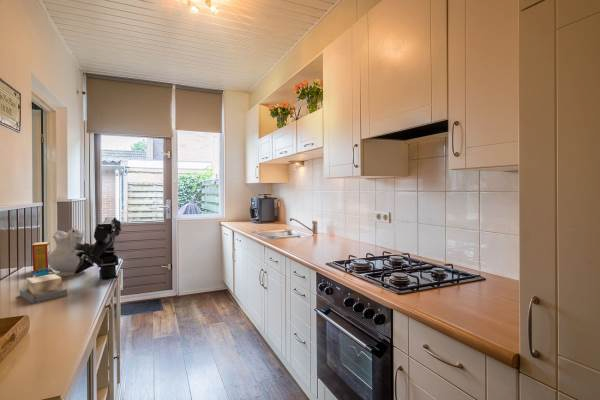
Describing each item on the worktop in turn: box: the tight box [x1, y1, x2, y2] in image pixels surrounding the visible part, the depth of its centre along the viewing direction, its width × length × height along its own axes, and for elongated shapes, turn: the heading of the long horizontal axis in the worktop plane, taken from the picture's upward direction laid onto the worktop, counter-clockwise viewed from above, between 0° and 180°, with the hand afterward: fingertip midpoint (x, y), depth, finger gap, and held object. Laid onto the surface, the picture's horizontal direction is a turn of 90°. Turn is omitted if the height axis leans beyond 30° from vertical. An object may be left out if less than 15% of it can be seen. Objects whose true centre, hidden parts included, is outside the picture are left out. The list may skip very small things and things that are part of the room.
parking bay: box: [18, 287, 68, 304], centre depth 140 cm, size 12×18×2 cm
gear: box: [29, 268, 56, 278], centre depth 158 cm, size 11×6×10 cm
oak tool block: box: [26, 273, 63, 296], centre depth 141 cm, size 10×11×8 cm
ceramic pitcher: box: [48, 228, 85, 277], centre depth 176 cm, size 22×20×25 cm
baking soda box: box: [31, 241, 52, 274], centre depth 184 cm, size 10×6×16 cm
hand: (75, 273), depth 150 cm, fingers closed
